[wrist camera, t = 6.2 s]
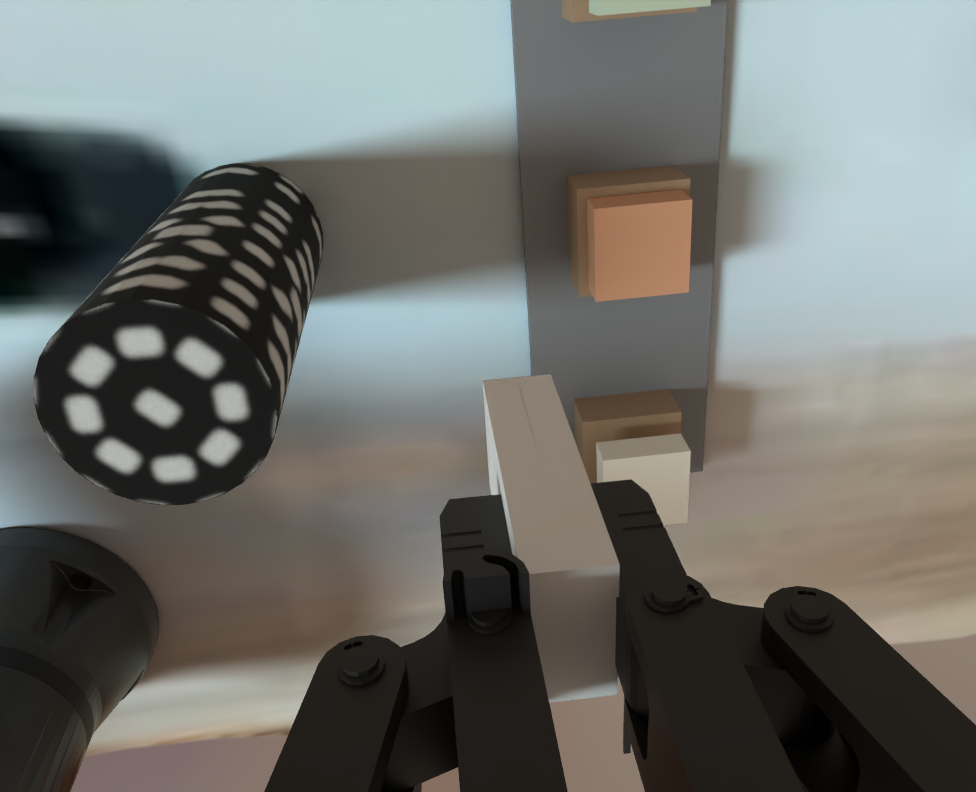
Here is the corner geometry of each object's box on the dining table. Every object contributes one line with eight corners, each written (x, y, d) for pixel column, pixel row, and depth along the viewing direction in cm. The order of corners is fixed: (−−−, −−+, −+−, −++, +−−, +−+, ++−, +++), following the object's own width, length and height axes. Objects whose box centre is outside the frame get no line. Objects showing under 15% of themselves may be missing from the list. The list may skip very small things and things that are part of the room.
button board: (537, 482, 57) (545, 515, 54) (503, -127, 41) (512, -134, 38) (698, 464, 58) (717, 496, 55) (729, -146, 41) (757, -153, 38)
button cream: (587, 484, 55) (604, 532, 51) (586, 416, 53) (603, 460, 48) (664, 475, 55) (687, 522, 51) (666, 407, 53) (690, 451, 48)
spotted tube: (141, 246, 48) (-12, 422, 30) (228, 130, 45) (116, 249, 28) (266, 334, 51) (192, 541, 33) (353, 230, 48) (324, 394, 31)
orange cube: (578, 269, 50) (595, 301, 45) (576, 183, 47) (594, 208, 43) (663, 261, 50) (688, 292, 46) (665, 175, 48) (692, 199, 43)
